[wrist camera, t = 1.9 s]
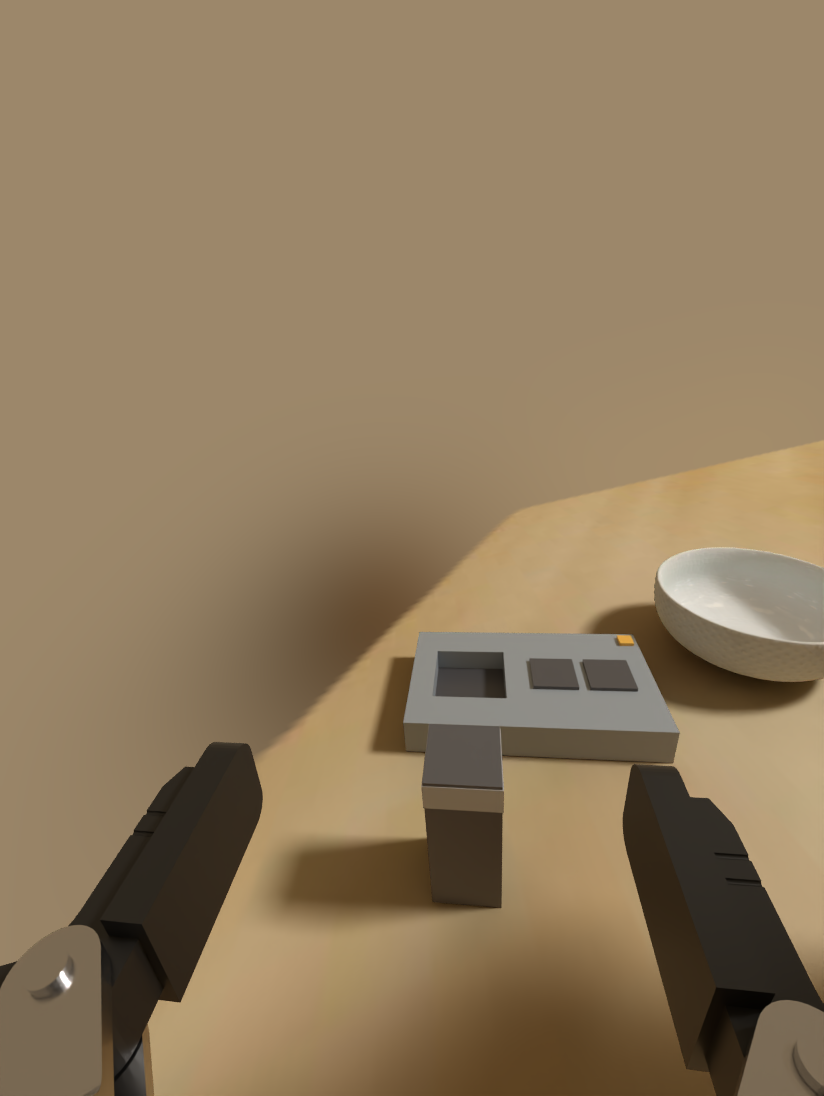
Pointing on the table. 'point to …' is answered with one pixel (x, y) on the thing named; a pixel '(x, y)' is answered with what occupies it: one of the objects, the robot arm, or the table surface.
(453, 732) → the plug
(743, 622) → the cereal bowl
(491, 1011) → the table surface
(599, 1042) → the table surface
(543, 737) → the power strip
